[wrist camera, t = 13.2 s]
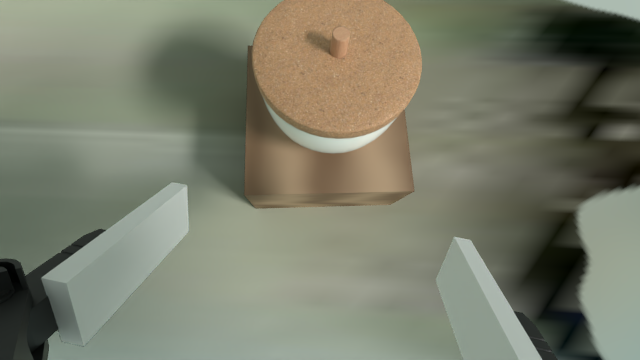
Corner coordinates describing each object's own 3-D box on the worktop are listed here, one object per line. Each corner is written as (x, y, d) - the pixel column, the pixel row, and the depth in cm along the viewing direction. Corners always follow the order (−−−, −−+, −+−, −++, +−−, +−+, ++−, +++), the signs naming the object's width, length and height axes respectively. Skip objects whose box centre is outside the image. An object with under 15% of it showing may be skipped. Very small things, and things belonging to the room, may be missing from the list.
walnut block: (377, 88, 35) (396, 47, 28) (389, 205, 31) (414, 191, 25) (258, 87, 34) (247, 45, 27) (256, 208, 30) (244, 195, 23)
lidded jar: (247, 87, 26) (216, -6, 17) (352, 44, 28) (375, -60, 19) (300, 193, 24) (296, 151, 15) (411, 139, 25) (470, 72, 16)
